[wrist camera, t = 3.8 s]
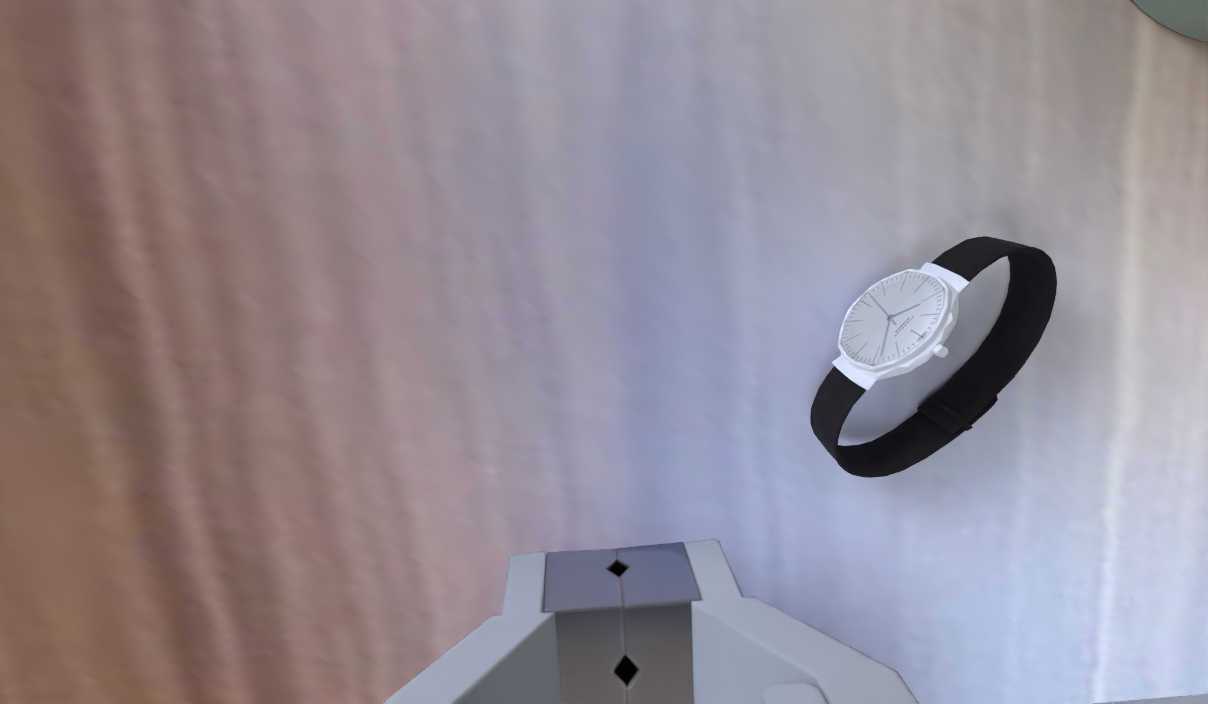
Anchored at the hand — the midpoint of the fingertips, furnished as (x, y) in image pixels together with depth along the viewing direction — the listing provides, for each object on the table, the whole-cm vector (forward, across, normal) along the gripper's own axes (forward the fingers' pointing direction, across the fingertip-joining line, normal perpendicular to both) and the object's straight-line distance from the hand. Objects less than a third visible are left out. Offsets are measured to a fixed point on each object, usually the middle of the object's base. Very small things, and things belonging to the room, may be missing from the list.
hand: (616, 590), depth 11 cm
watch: (+11, -10, 0) cm, 15 cm away
